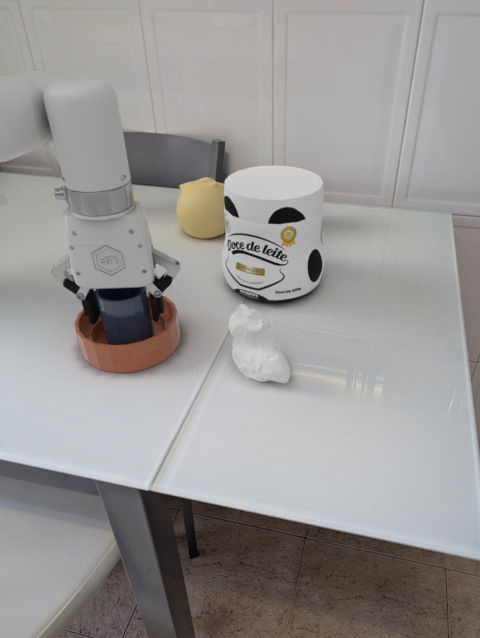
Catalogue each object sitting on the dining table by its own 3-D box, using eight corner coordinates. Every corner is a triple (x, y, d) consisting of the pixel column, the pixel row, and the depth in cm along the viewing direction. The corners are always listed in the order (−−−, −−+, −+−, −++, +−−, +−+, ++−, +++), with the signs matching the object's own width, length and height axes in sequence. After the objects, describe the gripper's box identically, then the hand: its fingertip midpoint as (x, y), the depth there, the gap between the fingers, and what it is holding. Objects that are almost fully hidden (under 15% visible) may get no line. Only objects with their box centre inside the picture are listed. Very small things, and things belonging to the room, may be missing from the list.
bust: (238, 358, 74) (188, 322, 66) (273, 321, 73) (228, 280, 65) (278, 408, 65) (227, 374, 57) (318, 368, 65) (272, 327, 57)
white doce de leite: (228, 316, 79) (222, 206, 68) (219, 264, 92) (212, 166, 81) (334, 306, 81) (345, 198, 70) (309, 257, 94) (315, 160, 83)
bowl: (72, 378, 67) (63, 349, 64) (94, 319, 78) (87, 292, 75) (176, 373, 68) (172, 344, 65) (183, 316, 79) (180, 289, 76)
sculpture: (240, 222, 107) (238, 171, 100) (227, 246, 98) (224, 193, 91) (189, 218, 109) (184, 168, 102) (171, 242, 99) (165, 189, 93)
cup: (104, 356, 70) (90, 302, 64) (112, 328, 75) (100, 276, 69) (152, 354, 70) (143, 301, 64) (157, 327, 75) (149, 275, 70)
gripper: (16, 211, 56) (56, 335, 67) (172, 207, 57) (187, 330, 67) (36, 187, 62) (70, 305, 72) (177, 183, 62) (190, 301, 73)
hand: (126, 317), depth 70 cm, fingers open, 8 cm apart
